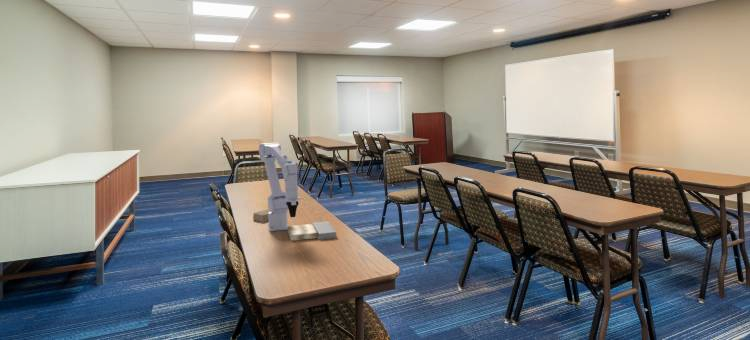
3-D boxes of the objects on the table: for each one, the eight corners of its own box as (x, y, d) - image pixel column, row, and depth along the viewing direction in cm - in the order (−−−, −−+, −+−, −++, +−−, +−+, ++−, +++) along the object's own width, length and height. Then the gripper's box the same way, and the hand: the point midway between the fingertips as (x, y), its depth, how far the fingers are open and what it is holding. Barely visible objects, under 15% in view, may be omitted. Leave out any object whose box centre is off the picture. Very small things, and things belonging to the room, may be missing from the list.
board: (319, 239, 197) (318, 233, 196) (312, 228, 216) (312, 222, 215) (336, 237, 199) (335, 231, 199) (328, 226, 218) (327, 221, 218)
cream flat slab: (291, 240, 195) (291, 235, 195) (287, 231, 210) (287, 226, 210) (317, 237, 199) (317, 232, 198) (312, 228, 214) (312, 223, 213)
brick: (262, 222, 229) (261, 214, 228) (252, 220, 234) (251, 212, 233) (285, 216, 242) (285, 208, 241) (276, 214, 247) (275, 206, 246)
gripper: (302, 190, 194) (303, 219, 196) (298, 185, 208) (299, 212, 210) (286, 192, 192) (287, 221, 194) (283, 186, 206) (284, 213, 208)
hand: (292, 216), depth 202 cm, fingers closed
